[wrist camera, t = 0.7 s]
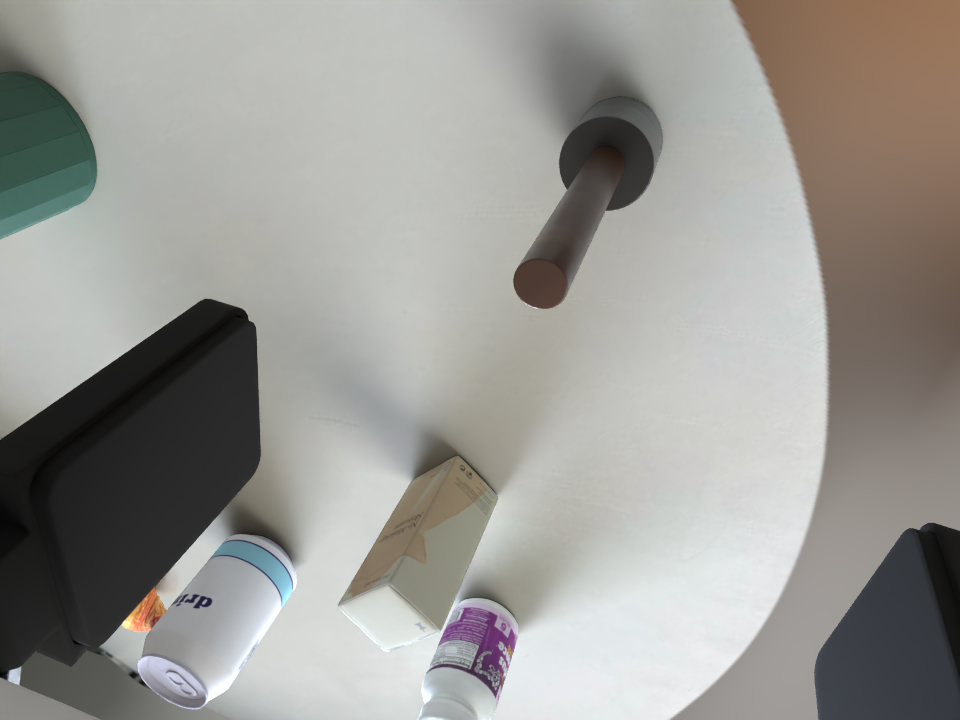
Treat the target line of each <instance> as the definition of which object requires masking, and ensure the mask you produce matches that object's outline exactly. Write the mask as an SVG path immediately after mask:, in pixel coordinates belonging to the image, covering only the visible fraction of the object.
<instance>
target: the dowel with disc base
mask: <svg viewBox="0 0 960 720" xmlns="http://www.w3.org/2000/svg"><path fill="white" fill-rule="evenodd" d="M662 142H663V136H662V129H661V126H660V123H659V121H658V119H657V117H656V116H655V114H654V113H653V112H652V110H651V109H650V108H649V107H647V106H646V105H645V104H643V103H642V102H640V101H638V100H635V99H632V98H628V97H613V98H608V99H606V100H603V101H601V102H599V103H597V104H596V105H594V106H593V107H592V108H591V109H590V110H589V111H588V112H587V113H586V114H585V115H584V117H583V118H582V119H581V121H580V122H579V123H578V124H577V126H576V127H575V128H574V129H573V131H572V132H571V133H570V134H569V136H568V137H567V139H566V140H565V142H564V144H563V146H562V150H561V153H560V159H559V168H560V174H561V178H562V181H563V183H564V185H565V187H566V189H567V191H566V193H565V195H564V196H563V198H562V199H561V201H560V202H559V204H558V205H557V207H556V209H555V210H554V212H553V213H552V215H551V216H550V218H549V220H548V221H547V223H546V224H545V226H544V227H543V229H542V231H541V232H540V234H539V235H538V237H537V238H536V240H535V241H534V243H533V245H532V246H531V248H530V249H529V251H528V252H527V254H526V256H525V257H524V259H523V260H522V262H521V263H520V265H519V266H518V268H517V270H516V272H515V274H514V279H513V283H514V288H515V291H516V293H517V295H518V297H519V298H520V299H521V300H522V301H523V302H524V303H525V304H527V305H529V306H531V307H533V308H536V309H549V308H553V307H555V306H557V305H559V304H560V303H561V302H562V301H563V300H564V298H565V297H566V295H567V293H568V290H569V288H570V286H571V284H572V282H573V280H574V277H575V275H576V273H577V271H578V269H579V267H580V265H581V262H582V260H583V258H584V256H585V254H586V252H587V249H588V247H589V245H590V243H591V241H592V239H593V237H594V234H595V232H596V230H597V228H598V226H599V224H600V221H601V219H602V217H603V215H604V213H605V211H611V210H617V209H621V208H624V207H626V206H628V205H630V204H632V203H633V202H635V201H636V200H637V199H638V198H639V197H640V196H641V195H642V194H643V193H644V192H645V190H646V189H647V187H648V186H649V184H650V181H651V179H652V176H653V173H654V170H655V167H656V164H657V162H658V159H659V156H660V153H661V149H662Z"/></svg>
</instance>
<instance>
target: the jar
mask: <svg viewBox="0 0 960 720" xmlns="http://www.w3.org/2000/svg"><path fill="white" fill-rule="evenodd" d="M96 176H97V165H96V157H95V152H94V148H93V145H92V142H91V139H90V137H89V134H88V132H87V130H86V128H85V126H84V124H83V123H82V121H81V119H80V118H79V116H78V115H77V113H76V112H75V111H74V109H73V108H72V107H71V105H70V104H69V103H68V102H67V101H66V100H65V99H64V98H63V97H62V96H61V95H60V94H59V93H58V92H57V91H56V90H54V89H53V88H52V87H51V86H49V85H48V84H46V83H45V82H43V81H42V80H40V79H38V78H36V77H34V76H31V75H28V74H25V73H20V72H6V73H1V74H0V239H2V238H5V237H7V236H9V235H11V234H14V233H16V232H18V231H21V230H23V229H25V228H28V227H30V226H32V225H34V224H37V223H39V222H41V221H44V220H46V219H48V218H51V217H53V216H55V215H58V214H60V213H62V212H64V211H67V210H69V209H70V208H72V207H74V206H76V205H78V204H80V203H82V202H83V201H85V200H86V199H87V198H88V197H89V195H90V194H91V192H92V190H93V188H94V185H95V182H96Z"/></svg>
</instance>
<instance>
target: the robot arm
mask: <svg viewBox="0 0 960 720" xmlns="http://www.w3.org/2000/svg"><path fill="white" fill-rule="evenodd" d="M260 457H261V445H260V418H259V390H258V363H257V335H256V327H255V325H254V323H253V322H251V321H249V320H248V315H247V313H246V311H244V310H243V309H241V308H238V307H235V306H232V305H229V304H225V303H222V302H219V301H216V300H212V299H204V300H202V301H200V302H198V303H197V304H195V305H194V306H193V307H191V308H190V309H188V310H187V311H185V312H184V313H182V314H181V315H180V316H178V317H177V318H175V319H174V320H172V321H171V322H169V323H168V324H167V325H165V326H164V327H162V328H161V329H159V330H158V331H157V332H155V333H154V334H152V335H151V336H149V337H148V338H146V339H145V340H144V341H142V342H141V343H139V344H138V345H136V346H135V347H133V348H132V349H131V350H129V351H128V352H126V353H125V354H123V355H122V356H121V357H119V358H118V359H116V360H115V361H113V362H112V363H110V364H109V365H108V366H106V367H105V368H103V369H102V370H100V371H99V372H97V373H96V374H95V375H93V376H92V377H90V378H89V379H87V380H86V381H85V382H83V383H82V384H80V385H79V386H77V387H76V388H74V389H73V390H72V391H70V392H69V393H67V394H66V395H64V396H63V397H61V398H60V399H59V400H57V401H56V402H54V403H53V404H51V405H50V406H49V407H47V408H46V409H44V410H43V411H41V412H40V413H38V414H37V415H36V416H34V417H33V418H31V419H30V420H28V421H27V422H25V423H24V424H23V425H21V426H20V427H18V428H17V429H15V430H14V431H13V432H11V433H10V434H8V435H7V436H5V437H4V438H2V439H1V440H0V720H100V719H98V718H96V717H93V716H91V715H89V714H86V713H84V712H82V711H79V710H77V709H74V708H73V707H70V706H68V705H65V704H63V703H61V702H58V701H56V700H53V699H51V698H49V697H46V696H43V695H41V694H39V693H36V692H34V691H32V690H29V689H27V688H24V687H22V686H19V684H20V675H21V666H22V665H23V664H24V663H25V662H26V661H27V660H28V659H29V657H31V656H32V654H33V653H34V652H35V651H36V650H37V652H38V653H41V654H43V655H45V656H48V657H50V658H52V659H55V660H57V661H59V662H62V663H64V664H66V665H69V666H73V664H74V663H75V662H76V661H77V660H78V659H79V658H80V657H81V656H82V654H83V653H84V652H85V651H86V650H87V649H88V648H89V647H91V648H96V647H99V646H100V645H102V644H103V643H104V642H106V641H107V640H108V639H109V638H110V636H111V635H112V634H113V633H114V632H115V631H116V630H117V629H118V627H119V626H120V625H121V624H122V623H123V622H124V621H125V620H126V618H127V617H128V616H129V615H130V614H131V613H132V612H133V611H134V609H135V608H136V607H137V606H138V605H139V604H140V603H141V602H142V600H143V599H144V598H145V597H146V596H147V595H148V594H149V593H150V591H151V590H152V589H153V588H154V587H155V586H156V585H157V584H158V582H159V581H160V580H161V579H162V578H163V577H164V576H165V575H166V573H167V572H168V571H169V570H170V569H171V568H172V567H173V565H174V564H175V563H176V562H177V561H178V560H179V559H180V558H181V556H182V555H183V554H184V553H185V552H186V551H187V550H188V549H189V547H190V546H191V545H192V544H193V543H194V542H195V541H196V540H197V538H198V537H199V536H200V535H201V534H202V533H203V532H204V531H205V529H206V528H207V527H208V526H209V525H210V524H211V523H212V522H213V520H214V519H215V518H216V517H217V516H218V515H219V514H220V513H221V511H222V510H223V509H224V508H225V507H226V506H227V505H228V504H229V502H230V501H231V500H232V499H233V498H234V497H235V496H236V495H237V493H238V492H239V491H240V490H241V489H242V488H243V487H244V485H245V484H246V483H247V482H248V481H249V480H250V479H251V478H252V476H253V475H254V473H255V471H256V470H257V467H258V465H259V462H260ZM814 674H815V687H816V698H817V709H818V719H819V720H960V531H958V530H955V529H951V528H948V527H945V526H942V525H939V524H936V523H927V524H926V525H924V526H922V527H921V529H920V530H917V529H913V528H909V529H907V530H906V531H905V532H904V533H903V534H902V535H901V536H900V538H899V539H898V540H897V542H896V543H895V545H894V546H893V548H892V549H891V550H890V552H889V553H888V555H887V556H886V557H885V559H884V560H883V562H882V563H881V565H880V566H879V567H878V569H877V570H876V572H875V573H874V575H873V576H872V577H871V579H870V580H869V582H868V583H867V585H866V586H865V587H864V589H863V590H862V592H861V593H860V595H859V596H858V597H857V599H856V600H855V601H854V603H853V604H852V606H851V607H850V609H849V610H848V612H847V613H846V614H845V616H844V617H843V619H842V620H841V622H840V623H839V624H838V626H837V627H836V629H835V630H834V631H833V633H832V634H831V636H830V637H829V638H828V640H827V641H826V643H825V644H824V645H823V647H822V648H821V650H820V652H819V654H818V657H817V660H816V664H815V672H814Z"/></svg>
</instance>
